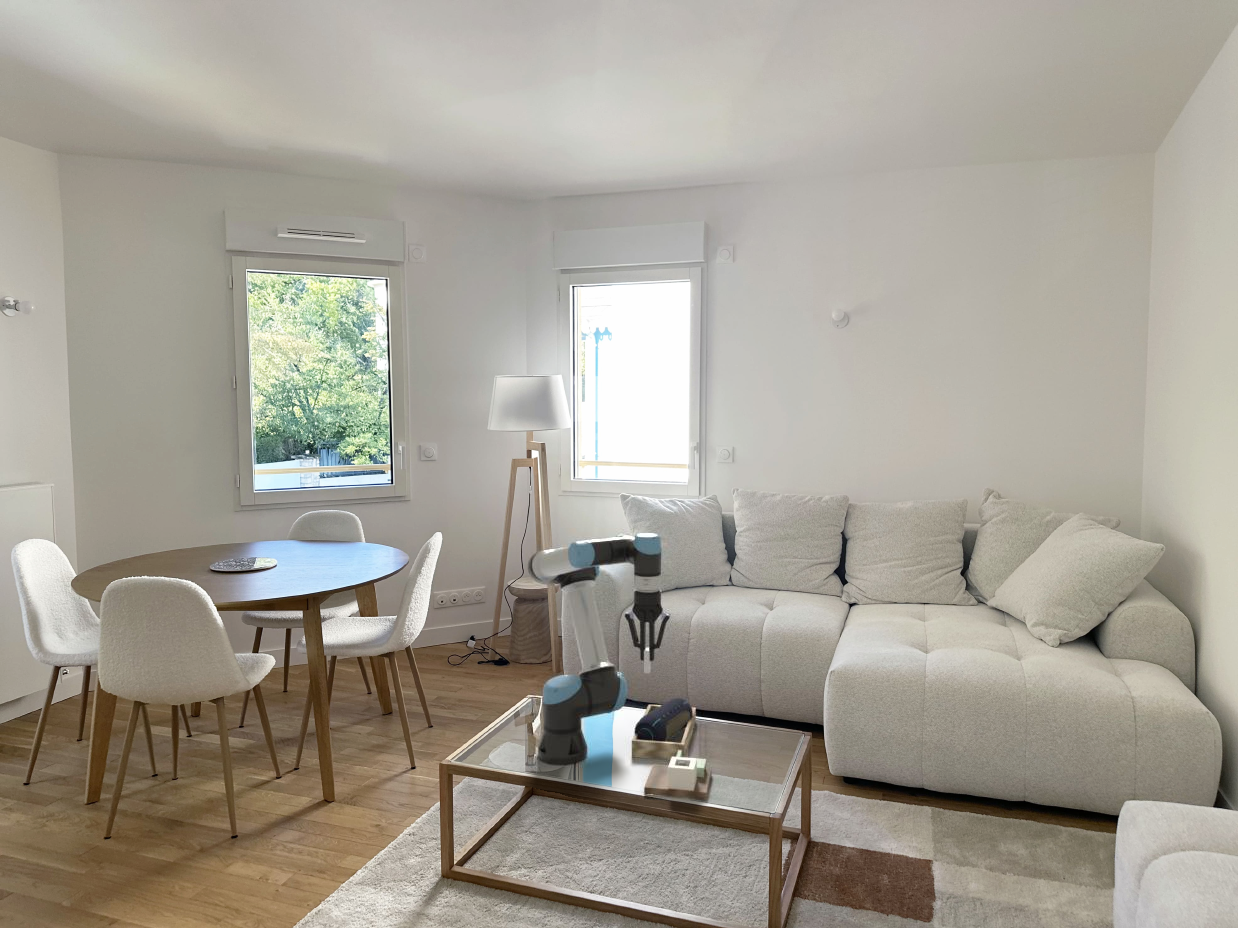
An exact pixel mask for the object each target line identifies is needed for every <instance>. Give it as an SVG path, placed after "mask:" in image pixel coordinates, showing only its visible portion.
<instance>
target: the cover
mask: <svg viewBox="0 0 1238 928" xmlns="http://www.w3.org/2000/svg"><path fill="white" fill-rule="evenodd" d="M676 757H682V750H678V753H677V756H676ZM683 758H687V757H686V756H685V757H683ZM694 758H695V759H697V777H702V778H704V770H706V768H707V758H696V757H694Z"/></svg>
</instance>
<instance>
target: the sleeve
mask: <svg viewBox="0 0 1238 928" xmlns="http://www.w3.org/2000/svg"><path fill="white" fill-rule="evenodd" d="M695 758H696V757H686V758H683V757H672V758H671V760H670V762H669V764H668V765H669V766H668V789H679V790H690V791H694V788H695V784H696V781H697V759H695ZM680 761H684V762H686V766H679V762H680Z"/></svg>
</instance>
